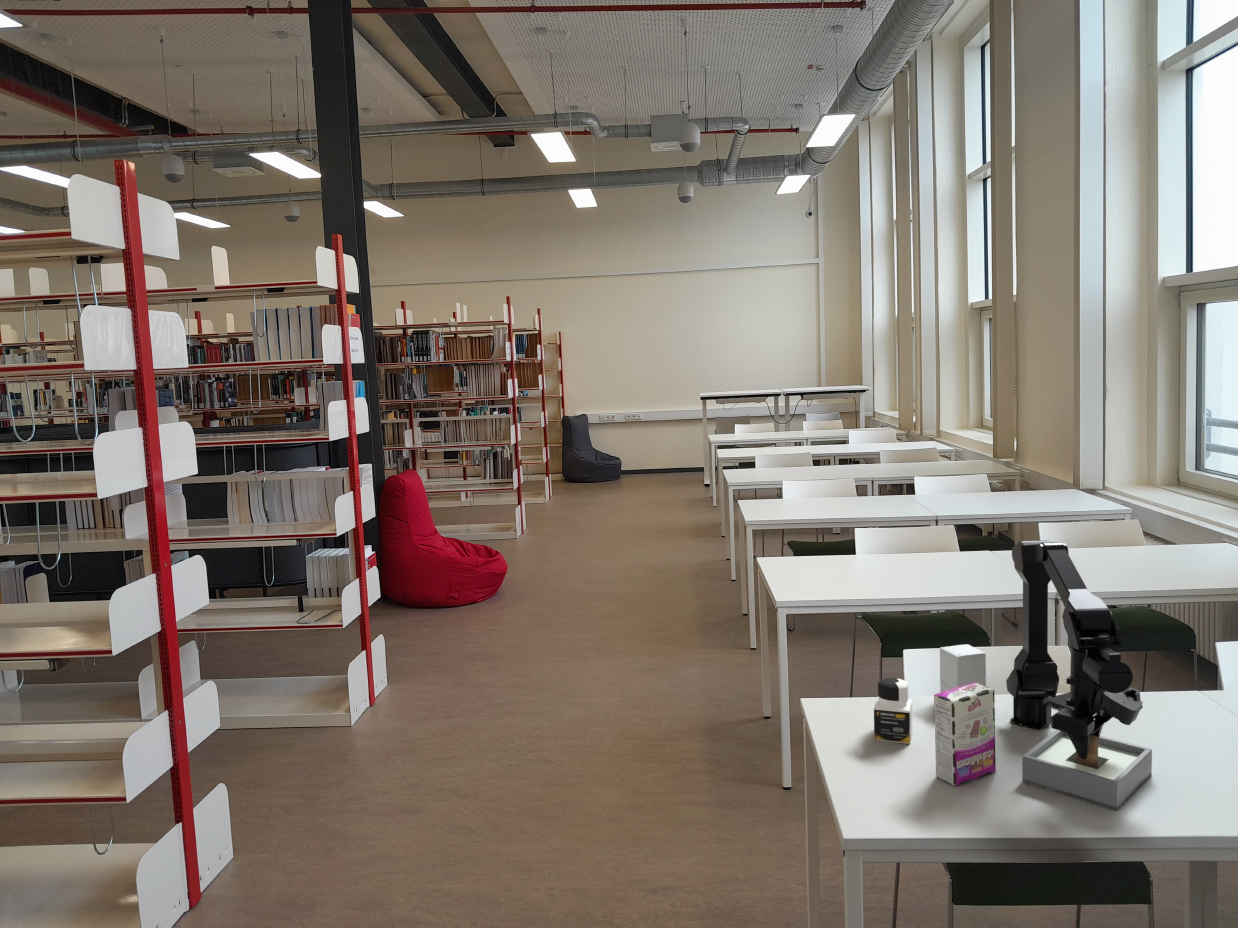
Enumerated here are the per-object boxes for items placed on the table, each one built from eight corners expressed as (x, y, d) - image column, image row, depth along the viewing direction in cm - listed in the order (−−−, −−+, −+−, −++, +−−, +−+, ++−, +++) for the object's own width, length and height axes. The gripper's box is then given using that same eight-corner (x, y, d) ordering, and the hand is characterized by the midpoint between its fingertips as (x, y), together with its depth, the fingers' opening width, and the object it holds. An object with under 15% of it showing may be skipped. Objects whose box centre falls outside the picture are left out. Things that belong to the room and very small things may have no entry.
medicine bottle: (874, 740, 184) (873, 684, 183) (877, 727, 191) (876, 673, 190) (910, 744, 182) (909, 688, 180) (912, 730, 188) (911, 676, 187)
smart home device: (1043, 697, 200) (1106, 681, 208) (1043, 705, 200) (1106, 688, 208) (1075, 709, 192) (1139, 692, 200) (1075, 717, 192) (1139, 700, 200)
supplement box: (987, 707, 199) (987, 652, 197) (957, 711, 197) (956, 656, 196) (968, 696, 206) (968, 643, 205) (939, 699, 205) (938, 646, 203)
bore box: (1022, 781, 164) (1022, 755, 163) (1061, 750, 176) (1061, 725, 175) (1116, 810, 152) (1117, 782, 152) (1151, 774, 164) (1151, 748, 164)
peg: (1072, 765, 164) (1073, 737, 163) (1080, 759, 166) (1080, 731, 166) (1093, 771, 161) (1094, 742, 161) (1100, 764, 164) (1101, 736, 163)
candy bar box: (975, 762, 172) (974, 680, 171) (996, 772, 168) (996, 688, 166) (933, 776, 167) (932, 692, 166) (954, 787, 163) (954, 701, 161)
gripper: (1118, 698, 150) (1116, 786, 151) (1154, 669, 162) (1152, 750, 164) (1049, 683, 158) (1049, 766, 160) (1089, 656, 170) (1088, 734, 172)
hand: (1087, 754), depth 164 cm, fingers closed on peg, 4 cm apart
